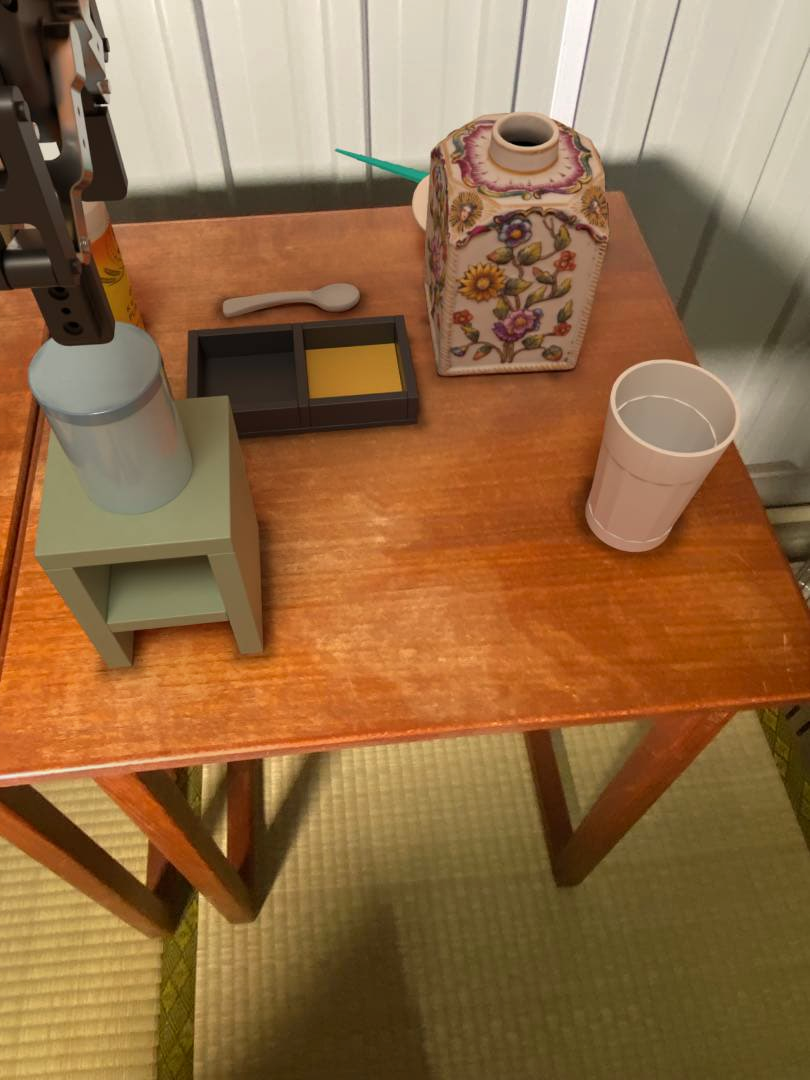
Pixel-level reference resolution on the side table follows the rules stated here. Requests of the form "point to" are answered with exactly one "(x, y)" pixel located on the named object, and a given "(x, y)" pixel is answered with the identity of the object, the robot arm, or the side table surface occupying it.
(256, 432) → the tray
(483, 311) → the decorative jar
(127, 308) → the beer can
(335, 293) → the spoon
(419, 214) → the beige rounded piece
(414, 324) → the side table surface
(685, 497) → the cup
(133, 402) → the blue grey cylinder
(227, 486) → the shelf
